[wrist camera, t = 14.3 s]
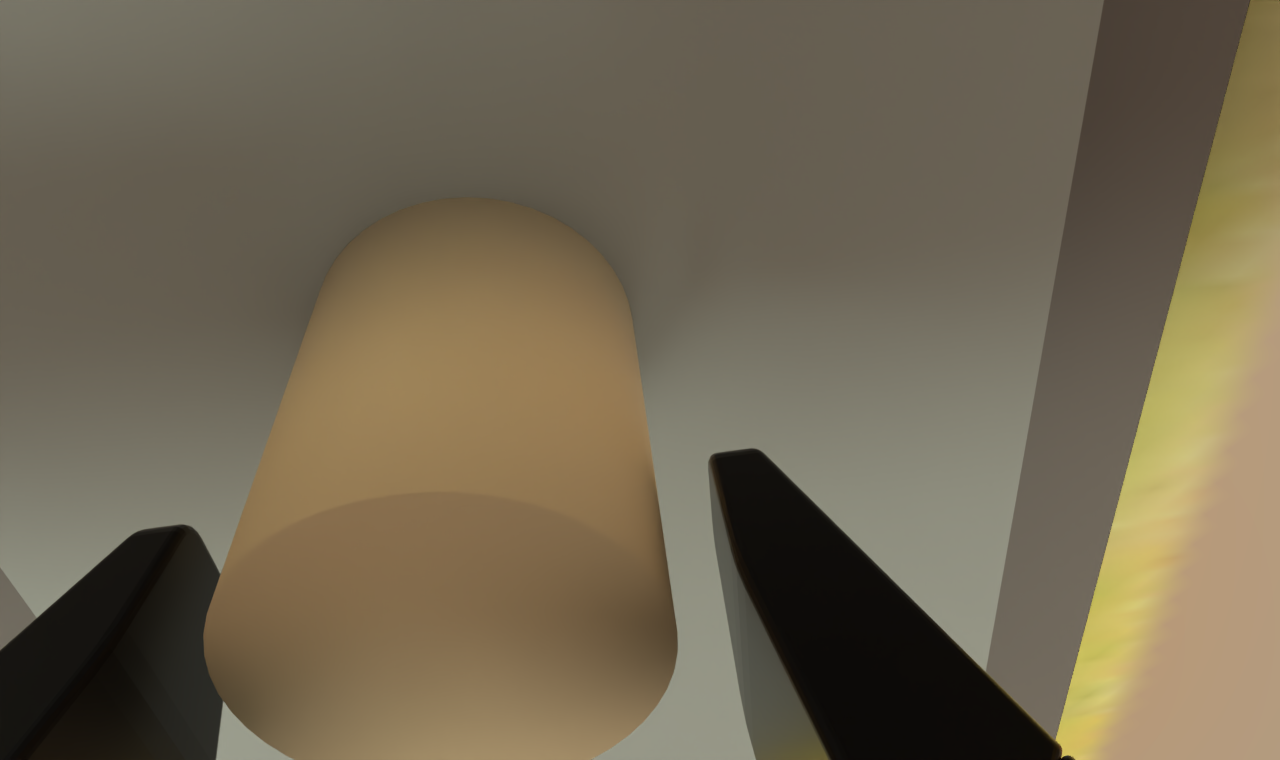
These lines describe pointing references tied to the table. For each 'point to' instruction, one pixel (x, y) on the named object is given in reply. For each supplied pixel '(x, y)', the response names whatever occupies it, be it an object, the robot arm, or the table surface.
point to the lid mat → (1086, 327)
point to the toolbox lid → (519, 333)
